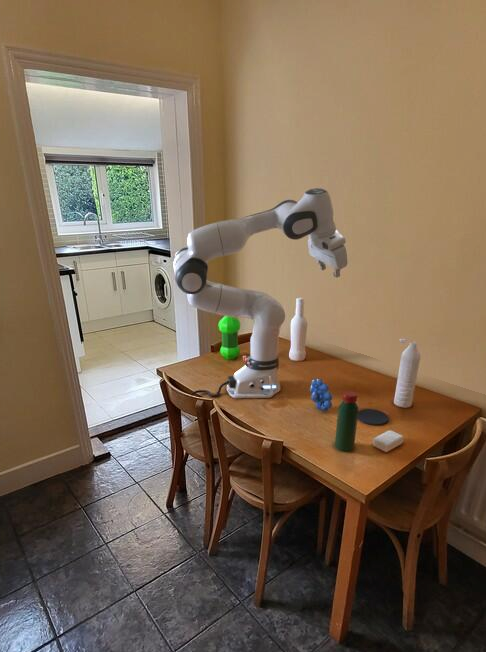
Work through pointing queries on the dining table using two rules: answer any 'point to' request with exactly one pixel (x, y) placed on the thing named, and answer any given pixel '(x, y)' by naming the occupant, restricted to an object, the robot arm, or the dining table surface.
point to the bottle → (298, 333)
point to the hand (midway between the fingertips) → (329, 272)
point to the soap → (388, 440)
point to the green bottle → (346, 426)
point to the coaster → (372, 417)
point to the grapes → (321, 395)
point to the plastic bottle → (229, 337)
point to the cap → (349, 397)
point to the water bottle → (407, 375)
